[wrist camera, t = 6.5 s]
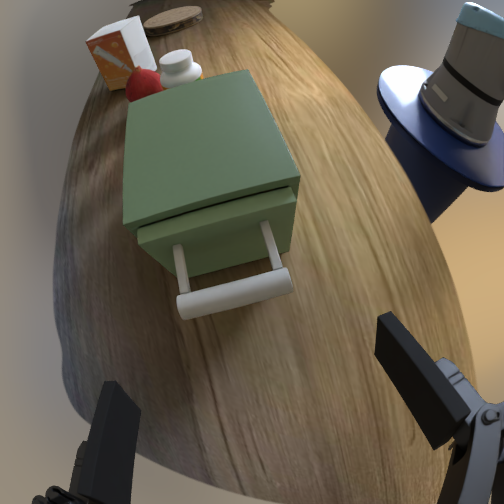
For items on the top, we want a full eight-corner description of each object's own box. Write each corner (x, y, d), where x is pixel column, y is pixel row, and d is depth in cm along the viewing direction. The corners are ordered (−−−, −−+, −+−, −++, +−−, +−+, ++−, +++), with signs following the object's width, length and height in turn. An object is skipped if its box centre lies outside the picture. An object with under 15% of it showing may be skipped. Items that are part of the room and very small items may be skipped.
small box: (109, 91, 39) (83, 41, 27) (125, 73, 41) (104, 25, 29) (143, 86, 38) (119, 29, 26) (158, 68, 40) (139, 14, 28)
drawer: (305, 303, 23) (324, 276, 15) (190, 333, 23) (147, 322, 15) (254, 150, 29) (248, 89, 21) (165, 175, 29) (136, 121, 21)
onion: (135, 122, 34) (115, 83, 27) (134, 103, 37) (117, 67, 29) (171, 108, 35) (155, 66, 27) (167, 90, 37) (154, 52, 29)
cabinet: (291, 241, 26) (300, 175, 16) (175, 272, 26) (122, 225, 16) (255, 141, 31) (247, 68, 21) (162, 167, 31) (128, 103, 21)
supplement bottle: (200, 125, 33) (183, 66, 24) (167, 122, 34) (145, 69, 24) (216, 101, 34) (204, 45, 25) (183, 99, 35) (167, 48, 26)
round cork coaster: (156, 40, 47) (153, 31, 44) (139, 31, 52) (136, 23, 49) (213, 18, 49) (211, 9, 46) (188, 11, 54) (186, 4, 51)
